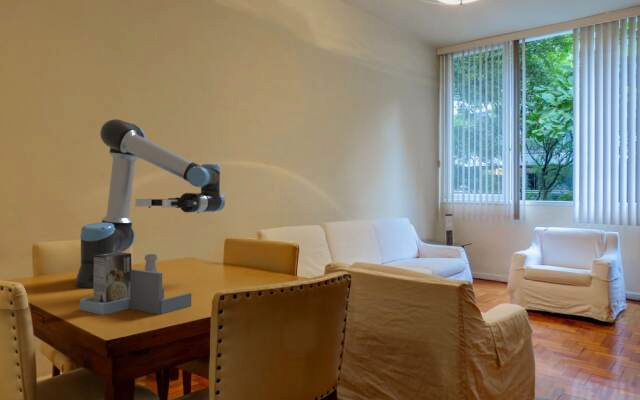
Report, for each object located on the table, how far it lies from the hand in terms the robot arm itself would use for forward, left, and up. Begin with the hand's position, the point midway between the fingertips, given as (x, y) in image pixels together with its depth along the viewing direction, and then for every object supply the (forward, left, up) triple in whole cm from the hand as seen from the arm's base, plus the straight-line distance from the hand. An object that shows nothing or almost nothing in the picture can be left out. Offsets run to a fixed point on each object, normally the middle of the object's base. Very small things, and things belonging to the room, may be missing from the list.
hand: (149, 203), depth 164 cm
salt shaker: (-5, +5, -32) cm, 33 cm away
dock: (+19, -11, -32) cm, 39 cm away
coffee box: (+7, -20, -32) cm, 38 cm away
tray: (+7, -20, -32) cm, 38 cm away
